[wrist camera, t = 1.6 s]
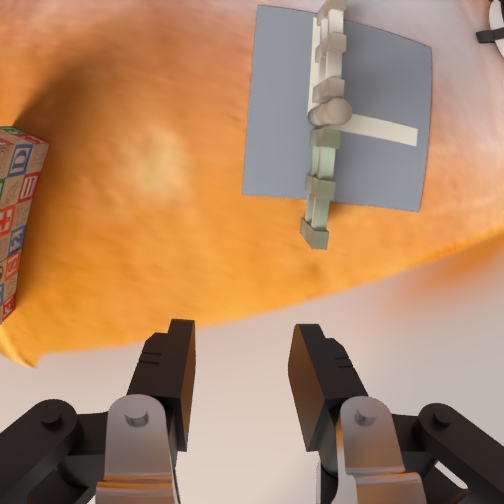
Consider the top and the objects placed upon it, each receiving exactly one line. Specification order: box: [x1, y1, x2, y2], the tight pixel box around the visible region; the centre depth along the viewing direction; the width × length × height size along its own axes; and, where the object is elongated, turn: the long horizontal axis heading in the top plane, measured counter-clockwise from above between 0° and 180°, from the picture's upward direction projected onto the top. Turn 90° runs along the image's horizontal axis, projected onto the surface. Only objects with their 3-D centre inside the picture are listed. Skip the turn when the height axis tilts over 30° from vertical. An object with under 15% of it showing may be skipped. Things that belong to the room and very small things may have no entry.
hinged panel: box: [300, 128, 341, 250], centre depth 25 cm, size 9×1×4 cm, turn 176°
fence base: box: [307, 0, 352, 127], centre depth 21 cm, size 12×2×7 cm, turn 176°
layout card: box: [242, 5, 431, 212], centre depth 25 cm, size 18×18×1 cm
